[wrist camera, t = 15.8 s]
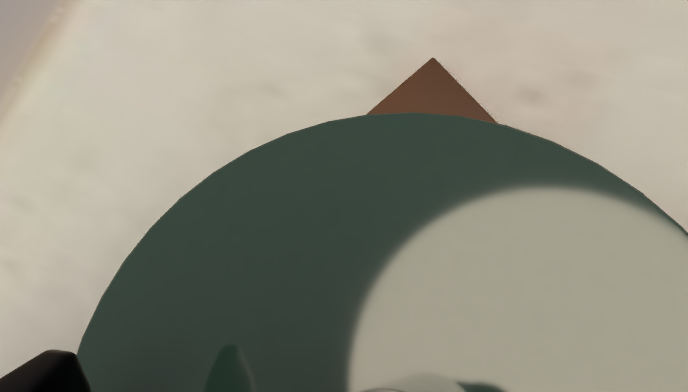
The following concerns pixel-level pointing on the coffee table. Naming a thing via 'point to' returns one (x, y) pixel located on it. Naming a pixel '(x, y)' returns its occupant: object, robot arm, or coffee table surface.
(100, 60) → the coffee table surface
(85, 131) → the coffee table surface
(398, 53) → the coffee table surface
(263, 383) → the tin lid
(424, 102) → the glossy brown square tile
